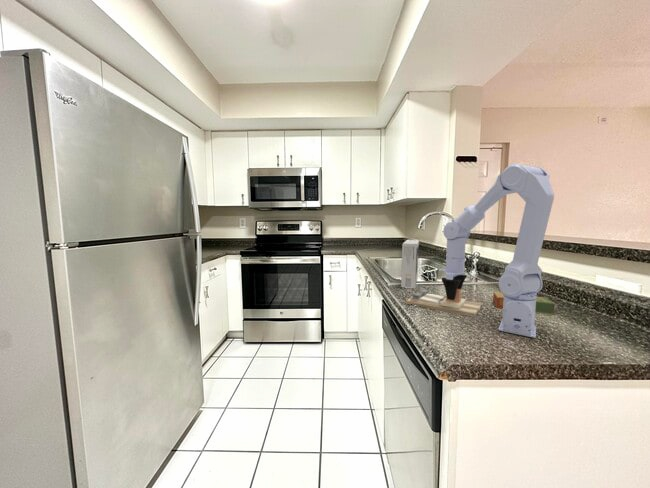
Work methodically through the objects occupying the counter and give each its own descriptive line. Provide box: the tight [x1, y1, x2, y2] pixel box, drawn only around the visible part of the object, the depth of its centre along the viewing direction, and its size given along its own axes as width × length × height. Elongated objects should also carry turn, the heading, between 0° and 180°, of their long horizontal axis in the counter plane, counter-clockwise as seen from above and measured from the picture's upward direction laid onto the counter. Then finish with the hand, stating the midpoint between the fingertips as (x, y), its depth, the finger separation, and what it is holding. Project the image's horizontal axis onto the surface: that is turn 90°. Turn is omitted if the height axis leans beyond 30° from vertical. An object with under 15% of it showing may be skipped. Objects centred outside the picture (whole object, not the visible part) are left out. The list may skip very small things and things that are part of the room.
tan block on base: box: [440, 289, 467, 309], centre depth 95 cm, size 10×6×5 cm, turn 142°
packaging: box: [400, 239, 420, 289], centre depth 134 cm, size 30×6×20 cm, turn 160°
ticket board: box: [404, 289, 483, 318], centre depth 97 cm, size 14×22×3 cm, turn 52°
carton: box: [492, 291, 556, 316], centre depth 95 cm, size 8×16×4 cm, turn 66°
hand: (453, 297), depth 95 cm, fingers open, 7 cm apart
